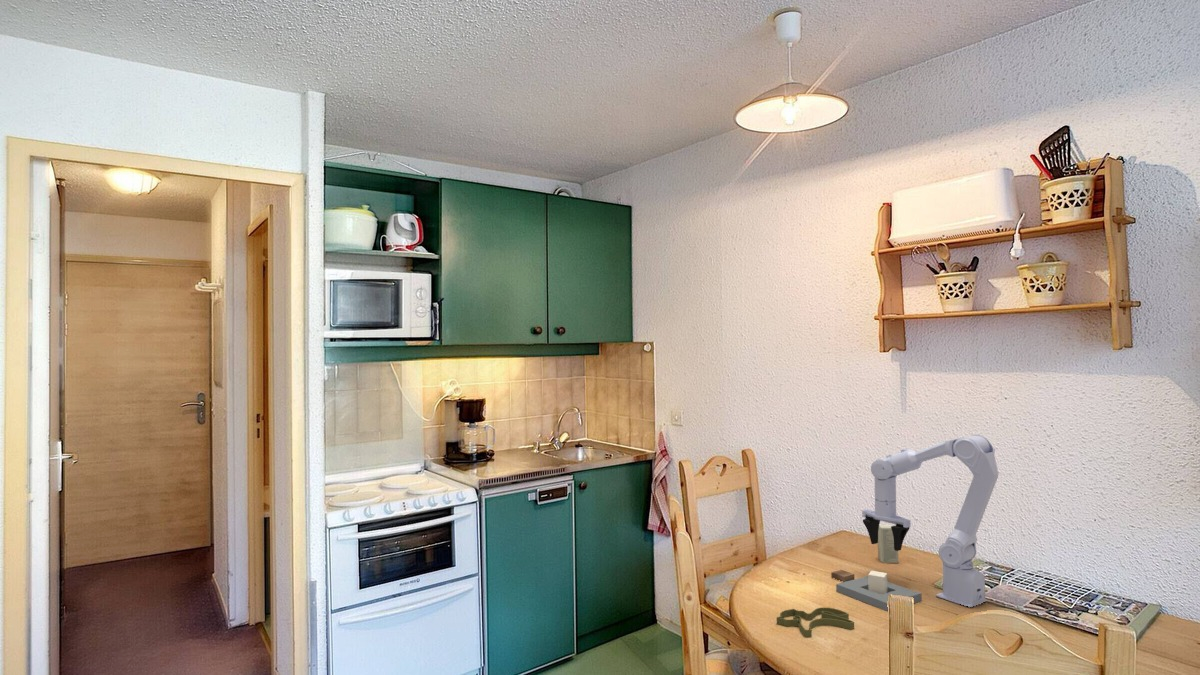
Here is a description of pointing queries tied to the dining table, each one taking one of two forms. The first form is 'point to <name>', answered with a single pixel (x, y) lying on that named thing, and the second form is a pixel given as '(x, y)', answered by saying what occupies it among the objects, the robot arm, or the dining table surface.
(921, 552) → the dining table surface
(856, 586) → the board
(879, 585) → the peg
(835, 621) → the cookie cutter
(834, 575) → the short block
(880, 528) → the box
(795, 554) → the dining table surface
